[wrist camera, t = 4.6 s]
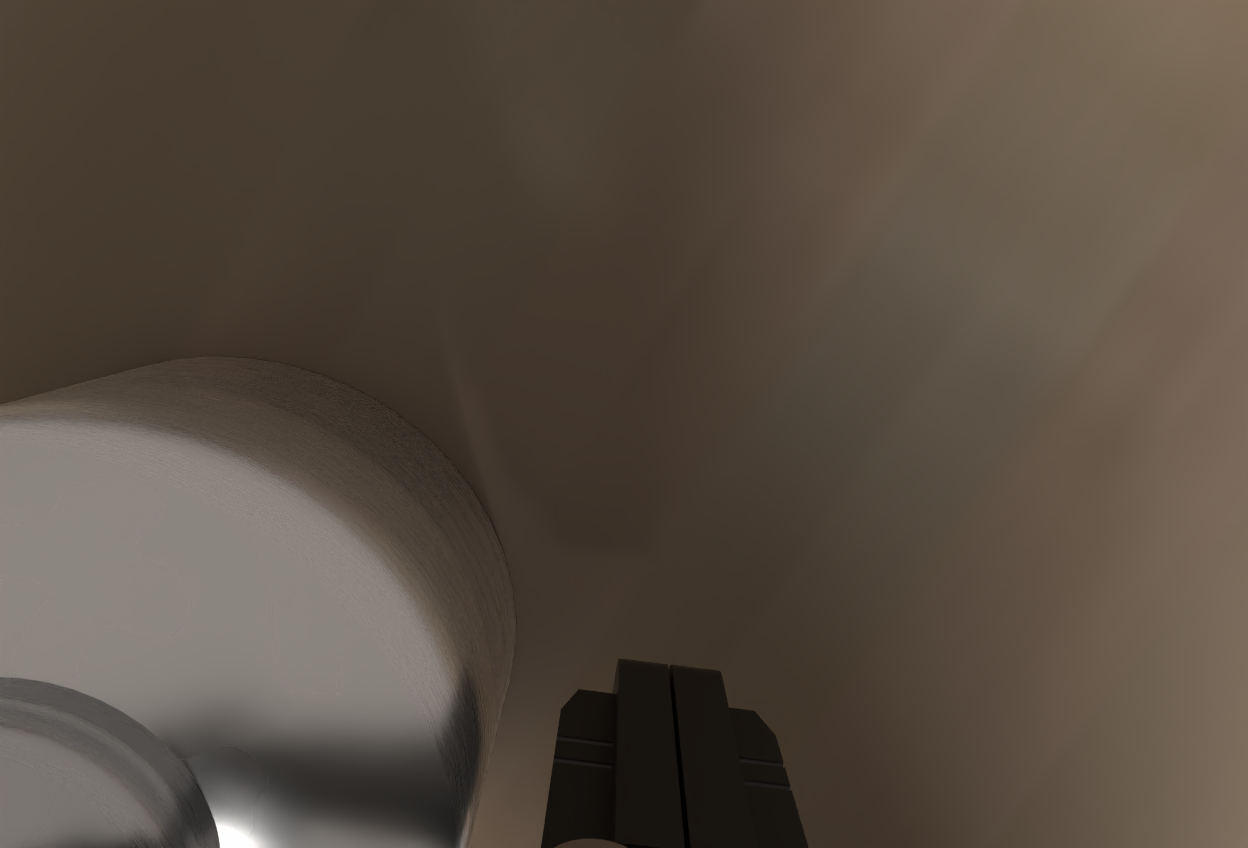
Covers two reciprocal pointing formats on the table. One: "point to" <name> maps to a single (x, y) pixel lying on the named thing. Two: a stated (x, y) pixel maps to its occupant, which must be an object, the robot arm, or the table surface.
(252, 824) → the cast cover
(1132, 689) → the table surface
